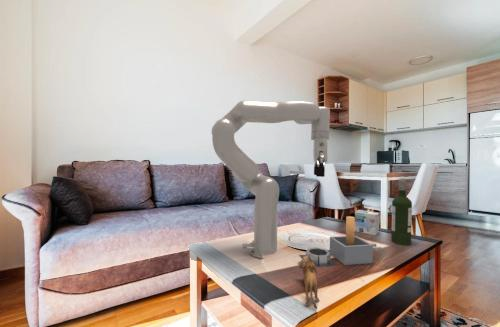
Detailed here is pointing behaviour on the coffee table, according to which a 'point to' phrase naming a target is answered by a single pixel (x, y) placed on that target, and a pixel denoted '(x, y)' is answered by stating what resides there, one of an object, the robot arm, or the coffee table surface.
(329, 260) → the socket plate
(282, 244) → the coffee table surface
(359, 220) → the light bulb box
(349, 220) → the strut
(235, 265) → the coffee table surface
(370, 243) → the adjustable wrench
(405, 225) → the wine bottle
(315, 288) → the lion figurine
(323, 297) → the coffee table surface
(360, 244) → the bin
